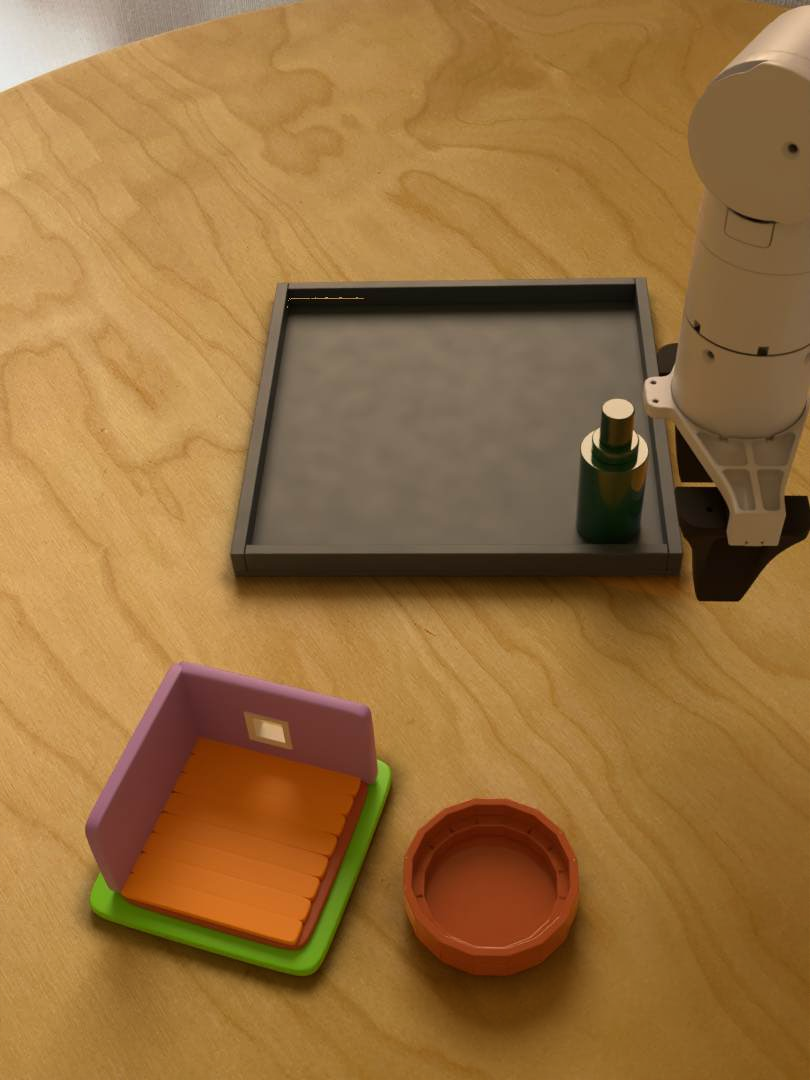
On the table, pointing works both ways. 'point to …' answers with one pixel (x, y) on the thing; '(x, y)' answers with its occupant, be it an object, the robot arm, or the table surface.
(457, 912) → the dish
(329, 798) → the miniature room corner
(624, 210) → the table surface
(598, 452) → the bottle
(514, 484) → the tray
